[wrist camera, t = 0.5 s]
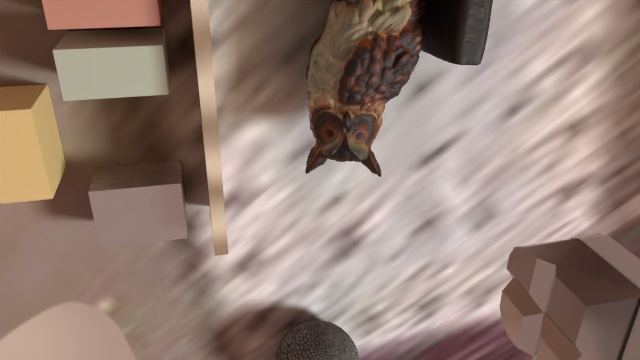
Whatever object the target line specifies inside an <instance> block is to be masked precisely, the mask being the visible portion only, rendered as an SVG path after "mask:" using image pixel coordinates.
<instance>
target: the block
mask: <svg viewBox="0 0 640 360" xmlns="http://www.w3.org/2000/svg"><path fill="white" fill-rule="evenodd" d="M88 194H89V199H90V204H91V208H92V213H93V218H94V223H95V228H96V232H97V237H98V242H99V247H100V248H105V247H114V246H123V245H132V244H141V243H149V242H158V241H167V240H176V239H185V238H187V214H186V205H185V196H184V187H183V179H182V170H181V161H175V162H163V163H151V164H139V165H127V166H115V167H103V168H95V170H94V174H93V177H92V180H91V184H90V187H89V191H88Z"/></svg>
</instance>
